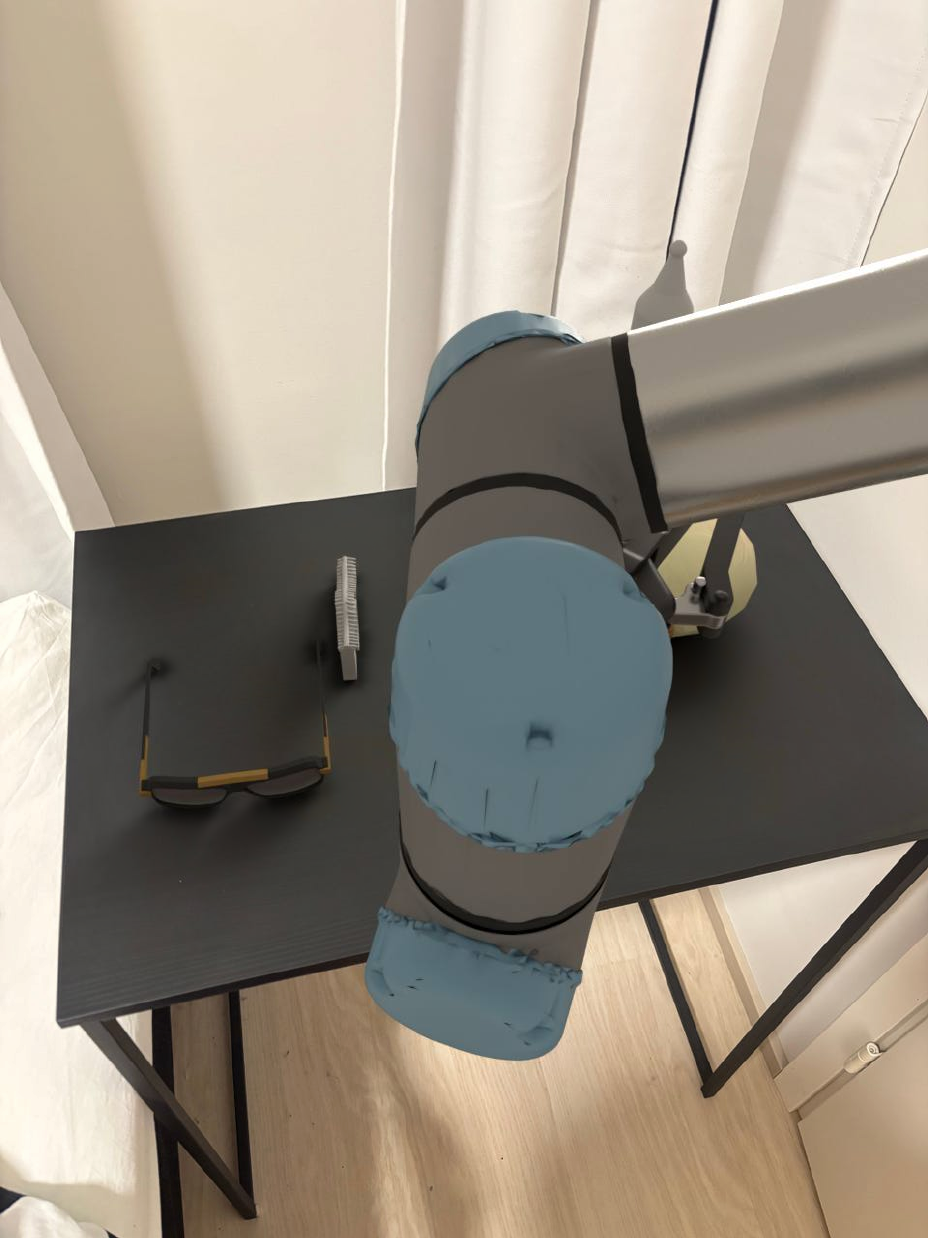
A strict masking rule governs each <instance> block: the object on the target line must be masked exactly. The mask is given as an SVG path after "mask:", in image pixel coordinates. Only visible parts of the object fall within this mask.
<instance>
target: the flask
mask: <svg viewBox="0 0 928 1238" xmlns="http://www.w3.org/2000/svg"><path fill="white" fill-rule="evenodd" d="M716 521H717V519H713V520H708V521H703V522H698V523H694V524H692V525H691V527H690V528H689V529H688V531H687V532H686V533H685V534H684V536H683V537H682V538H681V539H680V541H679V542H678V543H677V544H676V546H675V547H674V548H673V550H672V551H671V552H670V553H669V555H668V556H667V557H666V558H665V560H664V561H663V562H662V563H661V565H660V566H659V568H658V569H657V570H658V571H659V573H660V575H661V576H662V578H663V579H664V581H665V583H666V584H667V586H668V588H669V589H670V591H671V592H672V594H673V596H674V597H679V596H681V595H683V594H684V591H685V588H686V586H687V585H688V584H689V583H691V582H694V581H695V579H696V578H697V577H699V575H700V572H701V569H702V566H703V563H704V559H705V556H706V553H707V550H708V547H709V543H710V540H711V537H712V534H713V531H714V527H715V524H716ZM754 548H755V547H754V544H753V542H752V541H751V540H750V538H749V537H748V536H747V535H746V532H745V531H744V530H743V529H742V528H741V529H740V533H739V536H738V540H737V543H736V547H735V550H734V554H733V557H732V561H731V564H730V567H729V571H728V573H729V577H730V582H731V587H732V592H733V597H734V602H733V604H732V607H731V609H730V611H729V614H728V616H727V619H726V621H725V623H726V622H728V621H729V620H731V619H732V618H733V617H735V616H736V615H738V614H739V613H740V612H742V611H743V610H744V609H745V608H746V607H747V605H748V603H749V600H750V599H751V597H752V595H753V592H754V591H755V588H757V587H756V586H757V585H758V577H757V565H756V554H755V549H754ZM668 634H669V638H670V640H671V639H672V638H676V637H685V636H691V635H697V634H700V633H699V632H698V630H697V627H696V626H689V625H671V626H670V628H669V629H668Z"/></svg>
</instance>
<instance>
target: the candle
mask: <svg viewBox="0 0 928 1238" xmlns="http://www.w3.org/2000/svg"><path fill="white" fill-rule="evenodd" d="M668 247H669V248H668V250H669V251H668V252H669V256H668V257H667V259H666V261H665V263H664V264H663V266H662V268H661V269H660V271H659V273H658V275H657V277H656V279H655V281H654V282H653V283H652V284H651V285H650V286H649V287H648V288H646V289H645V290H644V291H643V292H642V293H641V294H640V295H639V297H638V298H637V300H636V302H635V307H634V311H633V315H632V321H631V327H630V331H631V330H635V329H639V328H642V327H646V326H649V325H653V324H657V323H660V322H664V321H668V320H671V319H675V318H678V317H682V316H686V315H689V314H693V313H695V305H694V302H693V301H692V298H691V295H690V294H689V292H688V289H687V283H686V282H687V281H686V273H685V272H686V270H685V260H684V258H685V255H686V254H687V253H688V246H687V243H686V242H685V241H684V240H682V239H676V240H674V241H673V242H671V243H670V245H669V246H668Z"/></svg>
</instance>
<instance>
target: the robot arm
mask: <svg viewBox="0 0 928 1238" xmlns="http://www.w3.org/2000/svg"><path fill="white" fill-rule="evenodd" d="M426 381H427V382H426V387H425V390H424V391H425V392H424V396H423V402H422V407H421V411H420V415H419V418H418V422H417V424H416V434H415V438H414V447H415V454H416V464H417V465H416V466H417V469H416V471H417V472H416V489H415V507H414V527H413V536H412V538H411V542H412V543H411V549H410V554H409V555H410V557H409V561H408V562H409V564H408V574H407V575H408V576H407V585H406V586H407V588H406V598H405V608H404V610H403V612H402V614H401V617H400V620H399V623H398V627H397V631H396V637H395V642H394V643H395V645H394V652H393V656H392V661H391V692H390V698H389V705H388V706H387V707H386V709H387V713H388V718H389V720H388V723H389V725H388V726H389V733H390V738H391V740H392V741H393V743H394V744H395V755H396V769H397V782H398V783H397V785H398V798H399V812H398V821H399V826H398V848H399V865H398V869H397V874H396V877H395V879H394V883H393V886H392V888H391V891H390V894H389V895H388V898H387V901H386V903H385V904H384V905H385V906H383V905H381V906H380V907H379V910H378V913H377V915H376V917H377V922H378V924H377V927H376V931H375V935H374V939H373V941H372V945H371V948H370V951H369V953H368V957H367V960H366V964H365V965H364V966H365V967H364V983H365V987H366V988H367V991H368V994H369V996H370V998H371V999H372V1000H373V1002H374V1003H375V1005H377V1007H378V1008H380V1009H381V1010H382V1011H383V1012H384V1013H385V1014H386V1015H388V1016H389V1017H390V1018H391V1019H393V1020H394V1021H396V1022H397V1023H398V1024H401V1025H402V1026H404V1028H407V1029H409V1030H410V1031H413V1032H415V1033H416V1034H418V1035H420V1036H423V1037H425V1038H426V1039H428V1040H431V1041H433V1042H436V1043H439V1044H441V1045H443V1046H447V1047H450V1048H452V1049H455V1050H458V1051H460V1052H465V1053H467V1054H470V1055H474V1056H479V1057H482V1058H487V1059H492V1060H499V1061H507V1062H525V1061H531V1060H536V1059H539V1058H543V1057H544V1056H547V1054H549V1053H551V1052H552V1051H553V1050H554V1049H555V1048H556V1047H557V1046H558V1045H559V1043H560V1041H561V1040H562V1037H563V1035H564V1033H565V1030H566V1026H567V1022H568V1018H569V1014H570V1012H571V1008H572V1004H573V1002H574V997H575V993H576V991H577V988H578V987H579V986H580V985H582V983H583V975H584V972H583V970H582V965H583V961H584V957H585V953H586V949H587V944H588V941H589V937H590V932H591V930H592V929H591V928H592V925H593V921H594V917H595V914H596V911H597V908H598V905H599V902H600V899H601V897H602V894H603V891H604V888H605V886H606V883H607V881H608V878H609V876H610V872H611V869H612V865H613V862H614V859H615V853H616V850H617V846H618V844H619V842H620V839H621V836H622V835H623V832H624V829H625V827H626V825H627V822H628V820H629V817H630V815H631V812H632V810H633V807H634V805H635V803H636V801H637V798H638V796H639V794H641V792H642V791H643V789H644V787H645V781H646V780H647V779H648V778H649V777H650V776H651V774H652V772H653V770H654V768H655V766H656V765H655V764H656V763H655V762H656V761H655V759H656V758H655V755H656V754H657V752H658V750H660V747H661V746H662V744H663V742H664V736H665V731H666V730H665V729H666V723H667V714H666V709H667V705H668V700H669V697H670V691H671V687H672V682H673V670H674V669H673V666H674V664H673V663H674V661H673V660H674V658H673V647H672V643H671V639H670V638H669V634H668V629H669V628H670V626H671V625H689V626H696V627H697V630H698V632H699V633H698V634H700V636H702V637H703V638H706V639H711V640H712V639H717V638H718V637H720V636H721V634H722V631H723V629H724V626H725V623H726V622H727V621H726V619H727V616H728V614H729V611H730V609H731V607H732V604H733V602H734V597H733V592H732V587H731V582H730V577H729V573H728V571H729V567H730V564H731V561H732V557H733V554H734V550H735V547H736V543H737V540H738V536H739V533H740V529H742V526H743V522H744V518H745V515H746V513H750V512H754V511H759V510H764V509H769V508H773V507H778V506H783V505H788V504H792V503H798V502H803V501H806V500H807V501H808V500H811V499H817V498H820V497H826V496H831V495H835V494H839V493H844V492H850V491H853V490H858V489H863V488H864V489H865V488H867V487H872V486H877V485H882V484H887V483H892V482H896V481H901V480H906V479H911V478H914V477H915V478H916V477H920V476H924V475H925V476H926V475H928V248H924V249H922V250H918V251H915V252H911V253H908V254H903V255H900V256H896V257H893V258H889V259H885V260H882V261H878V262H874V263H871V264H868V265H864V266H860V267H855V268H852V269H849V270H845V271H842V272H838V273H835V274H831V275H828V276H824V277H821V278H817V279H813V280H809V281H806V282H802V283H798V284H795V285H791V286H787V287H783V288H781V289H777V290H773V291H769V292H766V293H762V294H759V295H754V296H751V297H748V298H744V299H741V300H737V301H733V302H730V303H726V304H722V305H719V306H715V307H711V308H708V309H705V310H699V311H697V312H694V313H693V314H689V315H686V316H682V317H678V318H675V319H671V320H668V321H664V322H660V323H657V324H653V325H649V326H646V327H642V328H639V329H635V330H631V329H630V330H628V331H626V332H623V333H619V334H617V335H613V336H611V335H610V336H605V337H602V338H597V339H594V340H590V341H587V339H586V338H585V337H584V336H583V335H582V334H581V333H580V332H579V331H578V330H577V329H575V328H574V326H571V324H569V323H567V322H565V321H563V320H562V319H559V318H558V317H555V316H553V315H548V314H545V315H543V314H537V313H531V312H522V311H520V310H515V309H513V310H504V311H500V312H499V311H498V312H494V313H491V314H488V315H485V316H482V317H479V318H478V319H475V320H473V321H471V322H469V323H468V324H466V325H465V326H464V327H462V328H461V329H460V330H458V331H457V332H456V333H455V334H453V335H452V336H451V337H450V338H449V339H448V340H447V341H446V343H445V344H444V345H443V346H442V348H441V349H440V350H439V352H438V353H437V355H436V356H435V358H434V360H433V362H432V364H431V367H430V370H429V373H428V377H427V380H426ZM713 519H717V521H716V524H715V527H714V531H713V534H712V537H711V540H710V543H709V547H708V550H707V553H706V556H705V559H704V563H703V566H702V569H701V572H700V575H699V577H697V578H696V579H695V581H694V582H691V583H689V584H688V585H687V586H686V588H685V591H684V594H683V595H681V596H679V597H674V596H673V594H672V592H671V591H670V589H669V588H668V586H667V584H666V583H665V581H664V579H663V578H662V576H661V575H660V573H659V571H658V570H657V569H658V568H659V566H660V565H661V563H662V562H663V561H664V560H665V558H666V557H667V556H668V555H669V553H670V552H671V551H672V550H673V548H674V547H675V546H676V544H677V543H678V542H679V541H680V539H681V538H682V537H683V536H684V534H685V533H686V532H687V531H688V529H689V528H690V527H691V525H692V524H694V523H698V522H703V521H708V520H713ZM725 621H726V622H725Z"/></svg>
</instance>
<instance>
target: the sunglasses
mask: <svg viewBox="0 0 928 1238" xmlns="http://www.w3.org/2000/svg"><path fill="white" fill-rule="evenodd" d="M315 644H316V645H315V646H316V659H317V668H318V679H319V693H320V694H319V695H320V705H321V725H322V736H323V749H324V756H318V755H309V756H304V757H301V758H298V759H294V760H291V761H288V762H285V763H281V764H277V765H273V766H270V767H266V768H261V769H253V770H245V771H243V770H242V771H236V772H228V773H221V774H213V775H207V776H178V775H177V776H176V775H175V776H174V775H150V776H149V777H148V778H147V774H148V773H147V772H148V756H149V754H148V753H149V729H150V713H151V712H150V709H151V678H152V677H151V676H152V670H153V671H156V672H158V671H161V664H160V659H159V658H158V657H150V658H148V660H147V664H146V674H145V675H146V676H145V690H144V706H143V720H142V721H143V723H142V737H141V757H140V770H139V787H138V796H141V798H147V797H151V798H152V799H153V801H155V803H157V804H158V805H160V806H164V807H168V808H174V809H183V810H185V809H205V808H209V807H214V806H218V805H220V804H223V802H224V801H225V800H227V798H228V797H229V796H230V795H231V794H235V793H242V792H244V793H246V794H250V795H253V796H254V797H259V798H262V799H282V798H286V797H291V796H295V795H300V794H303V793H305V792H308V791H311V790H313V789H315V788H317V787H319V786H320V785H322V784H323V783H324V780H325V775H326V774H331V773H332V772H331V771H332V768H331V755H330V743H329V742H330V741H329V740H330V739H329V730H328V717H327V715H326V706H325V705H326V704H325V693H324V682H323V673H322V672H323V671H322V660H321V654H322V644H321V639H319V638H318V639H316V643H315Z"/></svg>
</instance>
